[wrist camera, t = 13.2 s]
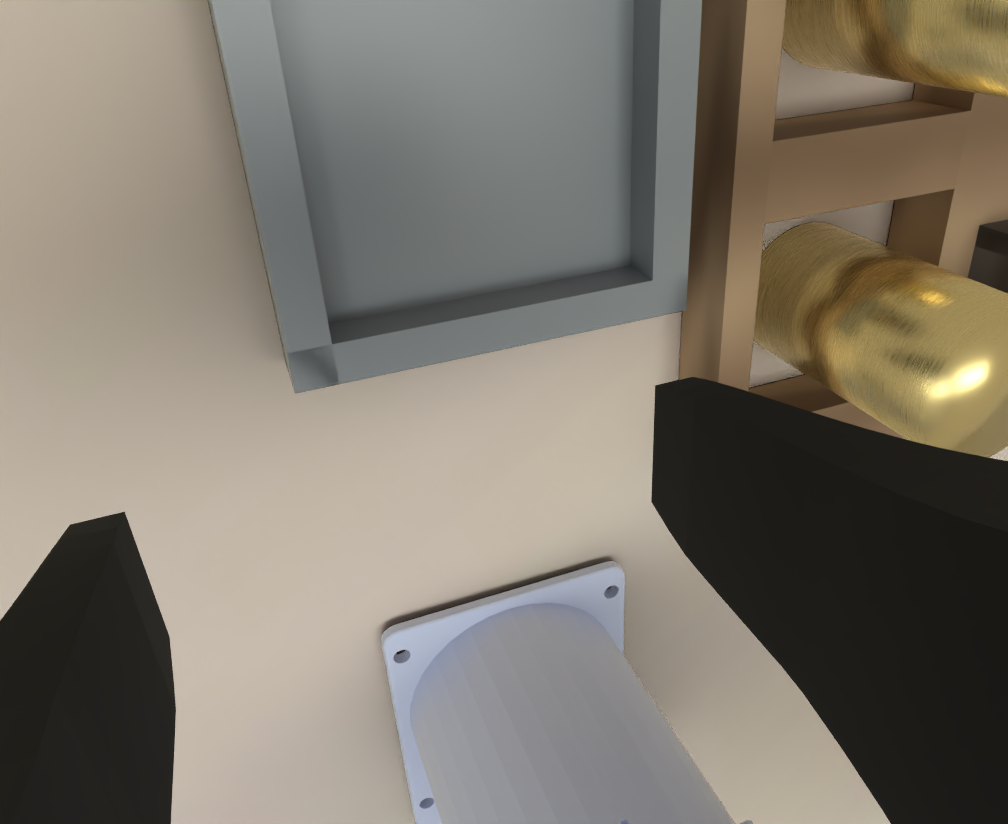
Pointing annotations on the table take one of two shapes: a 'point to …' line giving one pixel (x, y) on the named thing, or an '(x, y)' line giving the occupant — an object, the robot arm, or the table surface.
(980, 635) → the robot arm
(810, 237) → the seated billet
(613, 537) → the table surface
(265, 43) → the tote
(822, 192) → the pallet board
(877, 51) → the cylinder
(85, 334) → the table surface
